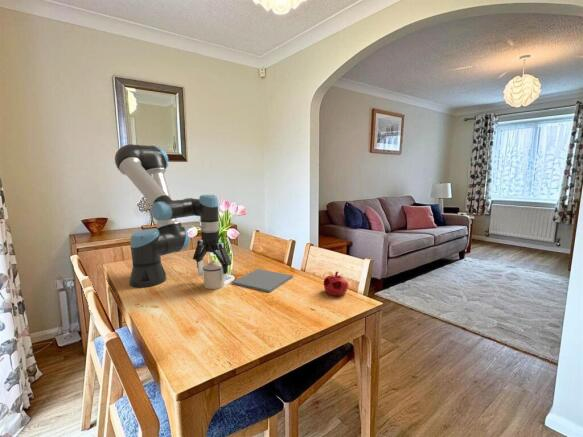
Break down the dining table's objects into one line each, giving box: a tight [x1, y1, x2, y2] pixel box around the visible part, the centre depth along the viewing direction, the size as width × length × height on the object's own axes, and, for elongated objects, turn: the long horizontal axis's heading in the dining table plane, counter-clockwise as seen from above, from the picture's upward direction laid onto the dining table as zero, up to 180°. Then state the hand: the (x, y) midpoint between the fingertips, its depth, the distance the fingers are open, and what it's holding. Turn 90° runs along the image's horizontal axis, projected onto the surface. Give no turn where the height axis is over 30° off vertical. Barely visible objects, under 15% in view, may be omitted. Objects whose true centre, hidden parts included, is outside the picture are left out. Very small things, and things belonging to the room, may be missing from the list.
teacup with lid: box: [203, 259, 225, 290], centre depth 130 cm, size 12×9×12 cm
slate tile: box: [232, 268, 294, 293], centre depth 136 cm, size 20×20×1 cm
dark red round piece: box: [323, 271, 349, 297], centre depth 121 cm, size 10×10×9 cm
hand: (212, 277), depth 130 cm, fingers open, 13 cm apart
